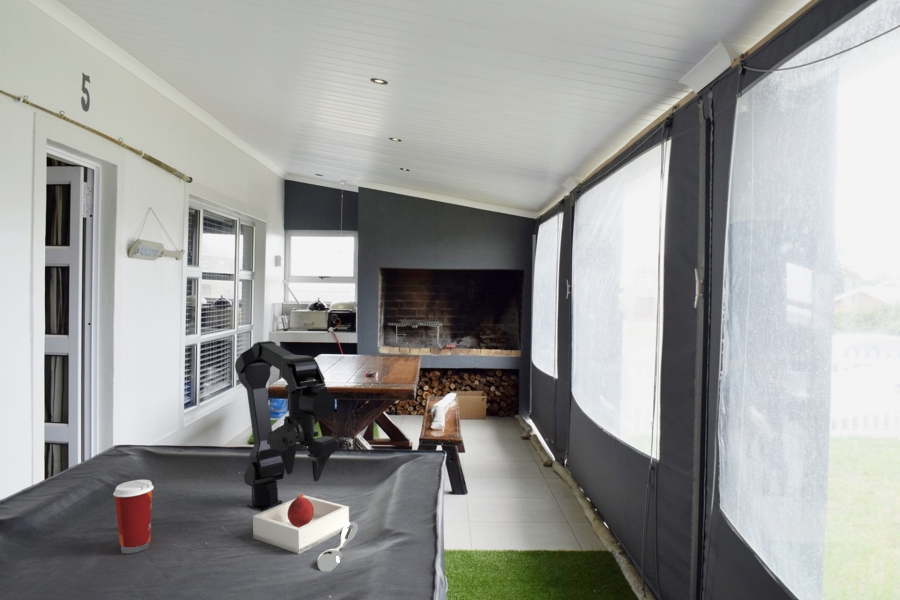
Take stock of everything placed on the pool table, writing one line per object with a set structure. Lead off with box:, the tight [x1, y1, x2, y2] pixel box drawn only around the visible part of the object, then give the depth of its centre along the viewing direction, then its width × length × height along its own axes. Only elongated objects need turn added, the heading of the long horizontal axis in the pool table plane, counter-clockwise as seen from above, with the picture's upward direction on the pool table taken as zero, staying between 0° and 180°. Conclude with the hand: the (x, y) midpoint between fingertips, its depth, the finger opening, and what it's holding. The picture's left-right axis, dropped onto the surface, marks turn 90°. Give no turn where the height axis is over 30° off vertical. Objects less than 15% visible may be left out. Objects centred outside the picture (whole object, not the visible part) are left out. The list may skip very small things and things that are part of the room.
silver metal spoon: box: [316, 521, 359, 572], centre depth 120 cm, size 20×4×5 cm
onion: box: [287, 492, 314, 528], centre depth 128 cm, size 6×6×8 cm
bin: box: [252, 494, 350, 555], centre depth 128 cm, size 15×15×5 cm
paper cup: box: [112, 479, 155, 547], centre depth 122 cm, size 8×8×14 cm
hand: (302, 477), depth 131 cm, fingers open, 9 cm apart
